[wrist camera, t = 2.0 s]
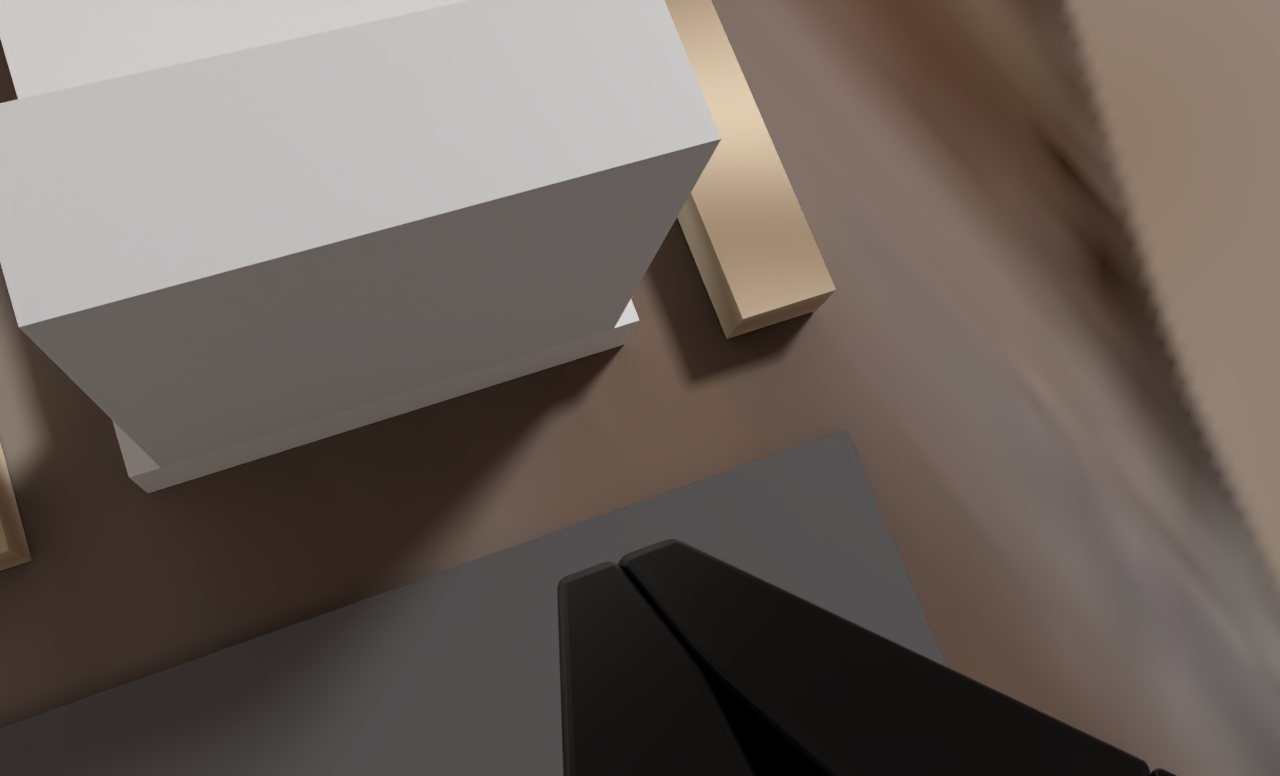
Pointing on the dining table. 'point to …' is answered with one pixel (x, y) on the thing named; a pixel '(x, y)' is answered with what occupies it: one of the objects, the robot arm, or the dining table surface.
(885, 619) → the mat
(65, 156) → the white l-shaped bracket
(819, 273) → the channel
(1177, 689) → the dining table surface
